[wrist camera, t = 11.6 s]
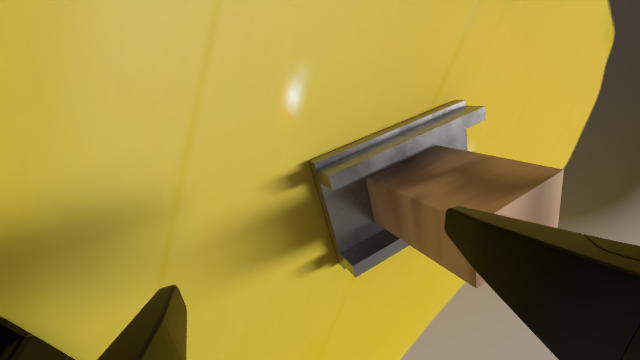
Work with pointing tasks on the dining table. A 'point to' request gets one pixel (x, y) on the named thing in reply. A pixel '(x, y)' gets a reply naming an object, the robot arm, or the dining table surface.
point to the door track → (371, 157)
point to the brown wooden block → (459, 198)
